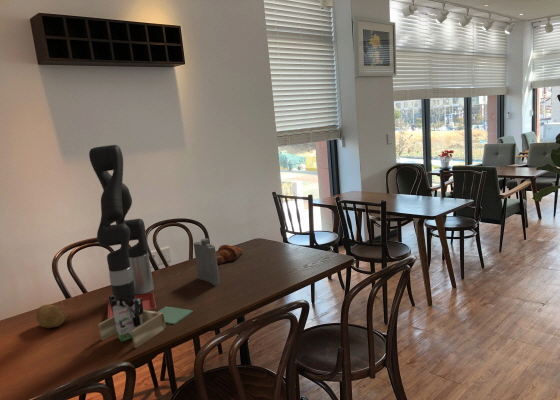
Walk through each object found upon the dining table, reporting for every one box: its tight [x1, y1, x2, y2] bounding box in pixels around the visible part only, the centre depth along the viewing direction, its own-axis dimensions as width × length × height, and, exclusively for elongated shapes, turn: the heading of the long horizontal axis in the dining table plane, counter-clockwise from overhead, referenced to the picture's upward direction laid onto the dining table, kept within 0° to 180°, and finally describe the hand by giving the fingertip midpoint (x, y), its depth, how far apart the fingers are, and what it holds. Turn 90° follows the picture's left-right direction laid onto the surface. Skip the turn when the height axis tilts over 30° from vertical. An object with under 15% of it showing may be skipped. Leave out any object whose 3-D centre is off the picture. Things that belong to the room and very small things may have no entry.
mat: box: [157, 305, 194, 326], centre depth 167 cm, size 14×11×1 cm
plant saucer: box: [107, 292, 157, 319], centre depth 175 cm, size 18×18×3 cm
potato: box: [35, 303, 67, 329], centre depth 167 cm, size 10×14×8 cm
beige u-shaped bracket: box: [97, 310, 167, 349], centre depth 154 cm, size 17×14×6 cm
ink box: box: [113, 305, 143, 342], centre depth 152 cm, size 8×5×12 cm, turn 124°
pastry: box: [216, 244, 243, 265], centre depth 230 cm, size 17×15×8 cm
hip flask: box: [193, 238, 221, 286], centre depth 198 cm, size 16×4×20 cm, turn 41°
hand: (129, 324), depth 153 cm, fingers closed on ink box, 6 cm apart
